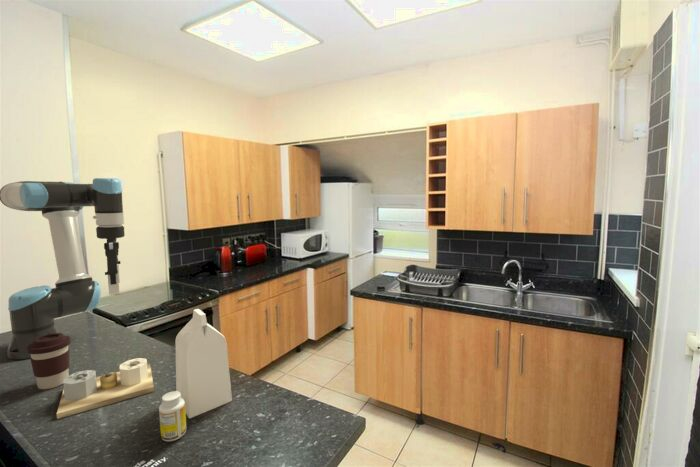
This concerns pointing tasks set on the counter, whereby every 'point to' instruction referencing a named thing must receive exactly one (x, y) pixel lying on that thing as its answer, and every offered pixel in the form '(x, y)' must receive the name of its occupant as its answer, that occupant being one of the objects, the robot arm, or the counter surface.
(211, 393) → the milk
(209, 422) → the counter surface
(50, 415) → the counter surface
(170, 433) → the supplement bottle
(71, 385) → the seated gear
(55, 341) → the coffee cup
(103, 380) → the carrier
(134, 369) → the white octagonal block
